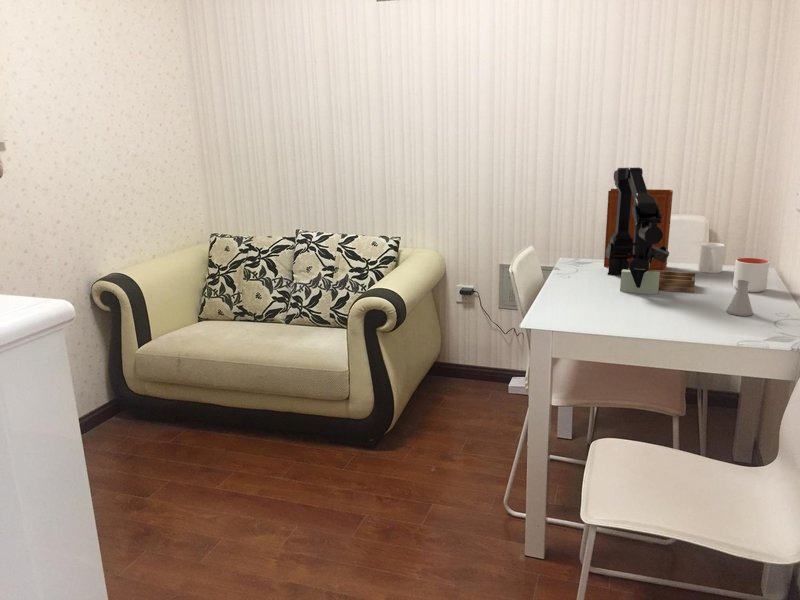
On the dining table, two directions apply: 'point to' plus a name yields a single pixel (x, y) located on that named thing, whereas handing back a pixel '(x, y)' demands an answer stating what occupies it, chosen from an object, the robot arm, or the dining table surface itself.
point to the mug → (711, 257)
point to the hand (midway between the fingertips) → (639, 284)
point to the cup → (751, 273)
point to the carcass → (676, 281)
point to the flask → (741, 300)
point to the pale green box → (647, 285)
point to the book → (664, 204)
